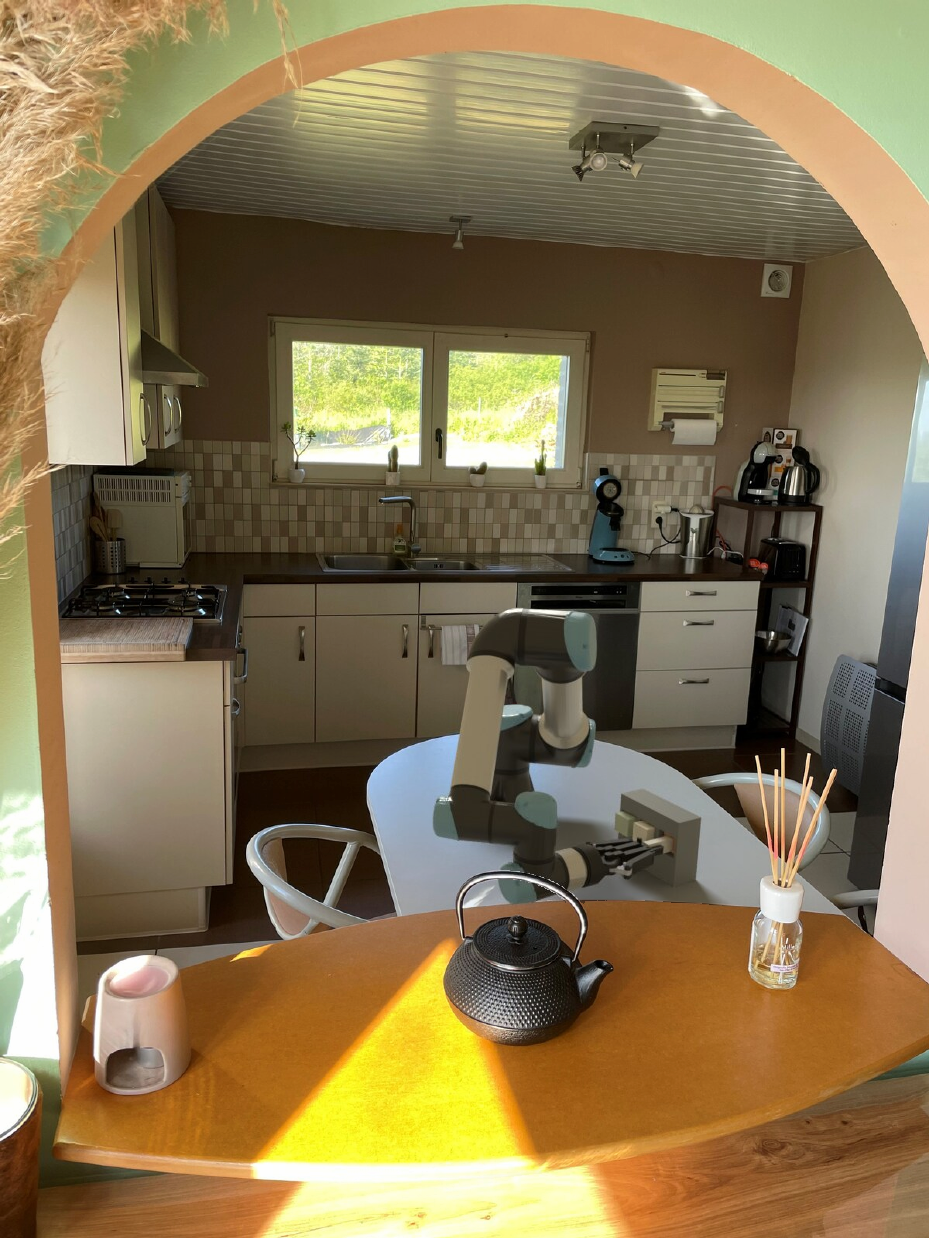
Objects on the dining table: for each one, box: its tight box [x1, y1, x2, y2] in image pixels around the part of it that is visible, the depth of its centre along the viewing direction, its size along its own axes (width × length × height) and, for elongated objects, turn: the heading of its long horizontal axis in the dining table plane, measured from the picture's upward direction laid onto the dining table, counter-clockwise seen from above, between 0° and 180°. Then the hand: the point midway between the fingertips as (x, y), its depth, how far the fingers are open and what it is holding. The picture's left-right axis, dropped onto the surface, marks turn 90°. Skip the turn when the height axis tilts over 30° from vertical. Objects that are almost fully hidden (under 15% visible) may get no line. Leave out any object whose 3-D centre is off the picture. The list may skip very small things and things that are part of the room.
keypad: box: [617, 788, 702, 887], centre depth 191 cm, size 17×6×14 cm, turn 31°
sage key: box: [613, 811, 637, 837], centre depth 193 cm, size 4×4×4 cm
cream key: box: [632, 820, 656, 842], centre depth 189 cm, size 4×4×4 cm
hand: (670, 843), depth 184 cm, fingers closed
